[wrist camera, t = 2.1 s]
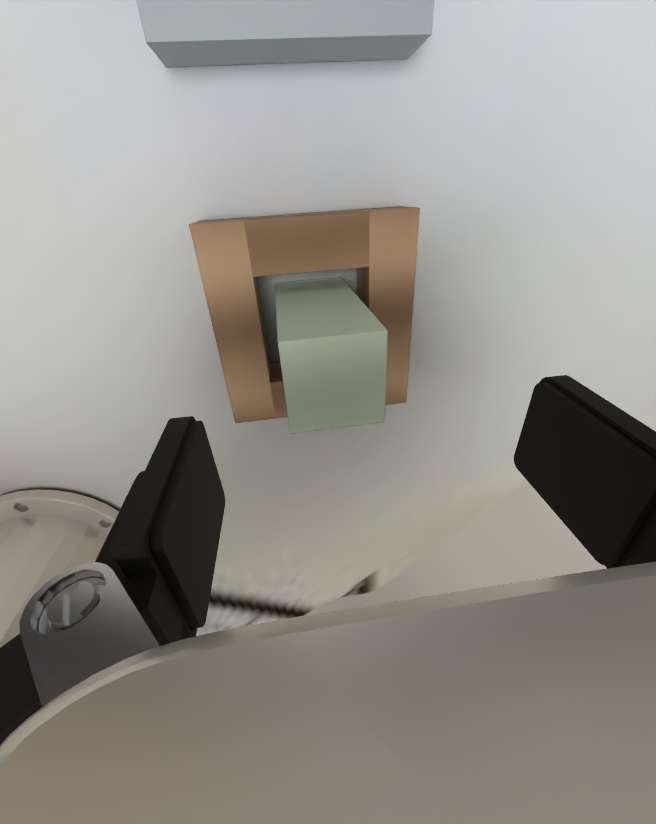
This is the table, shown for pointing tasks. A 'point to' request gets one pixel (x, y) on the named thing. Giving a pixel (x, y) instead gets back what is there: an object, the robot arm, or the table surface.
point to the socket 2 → (296, 253)
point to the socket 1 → (283, 30)
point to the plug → (330, 356)
